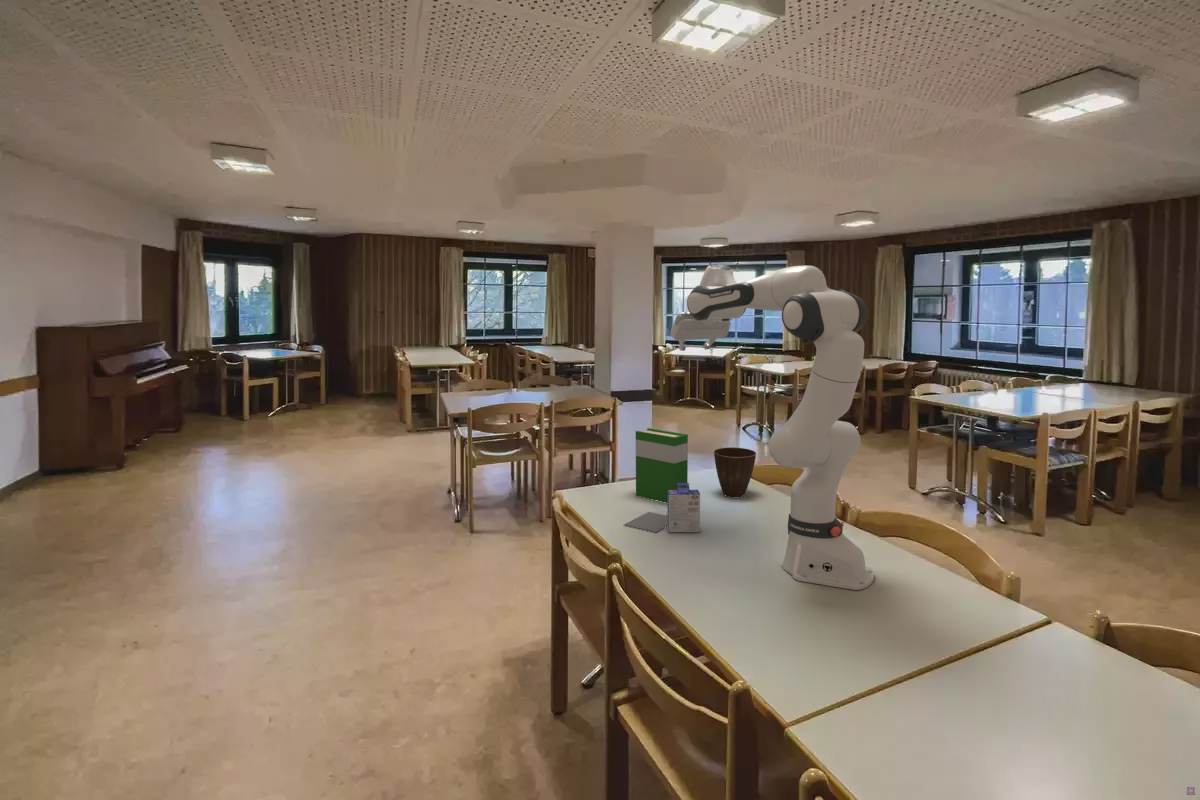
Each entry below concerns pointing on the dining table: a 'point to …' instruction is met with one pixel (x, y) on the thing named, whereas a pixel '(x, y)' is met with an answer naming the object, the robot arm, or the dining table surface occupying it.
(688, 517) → the ink cartridge box
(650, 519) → the mat
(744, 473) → the plant pot
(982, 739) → the dining table surface
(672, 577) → the dining table surface
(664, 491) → the hardback book
